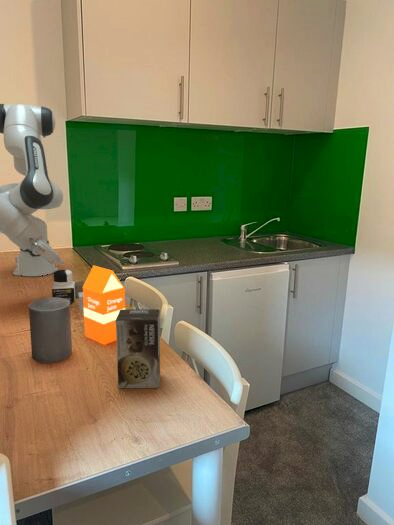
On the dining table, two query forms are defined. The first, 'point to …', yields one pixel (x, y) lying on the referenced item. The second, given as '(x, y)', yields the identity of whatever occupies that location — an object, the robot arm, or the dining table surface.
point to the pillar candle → (50, 329)
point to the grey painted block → (81, 301)
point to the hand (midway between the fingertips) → (62, 263)
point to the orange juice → (102, 304)
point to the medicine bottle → (64, 286)
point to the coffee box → (138, 348)
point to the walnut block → (78, 288)
